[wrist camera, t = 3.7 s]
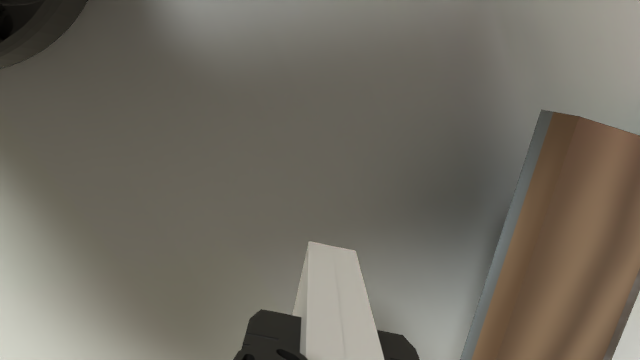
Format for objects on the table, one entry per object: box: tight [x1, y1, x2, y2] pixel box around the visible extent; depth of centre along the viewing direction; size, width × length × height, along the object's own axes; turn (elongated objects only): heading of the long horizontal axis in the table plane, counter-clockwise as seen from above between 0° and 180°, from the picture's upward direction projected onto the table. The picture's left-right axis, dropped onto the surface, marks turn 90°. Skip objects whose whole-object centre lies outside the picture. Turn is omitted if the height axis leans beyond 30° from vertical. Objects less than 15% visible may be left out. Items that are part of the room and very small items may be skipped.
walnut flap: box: [460, 110, 640, 360], centre depth 19 cm, size 13×13×2 cm
